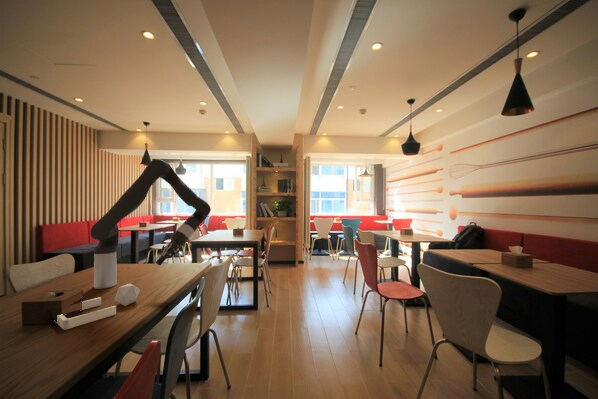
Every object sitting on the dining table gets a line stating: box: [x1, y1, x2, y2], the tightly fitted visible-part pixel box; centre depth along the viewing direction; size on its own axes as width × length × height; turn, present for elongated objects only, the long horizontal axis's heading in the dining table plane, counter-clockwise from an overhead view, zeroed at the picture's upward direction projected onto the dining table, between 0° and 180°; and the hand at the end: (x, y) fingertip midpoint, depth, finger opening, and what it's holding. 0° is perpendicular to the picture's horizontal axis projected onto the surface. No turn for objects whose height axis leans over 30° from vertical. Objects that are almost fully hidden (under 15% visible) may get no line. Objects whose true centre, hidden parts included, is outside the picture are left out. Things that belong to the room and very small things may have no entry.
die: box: [113, 283, 141, 307], centre depth 108 cm, size 8×9×10 cm
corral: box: [55, 296, 117, 331], centre depth 97 cm, size 17×15×3 cm
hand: (157, 264), depth 119 cm, fingers closed
